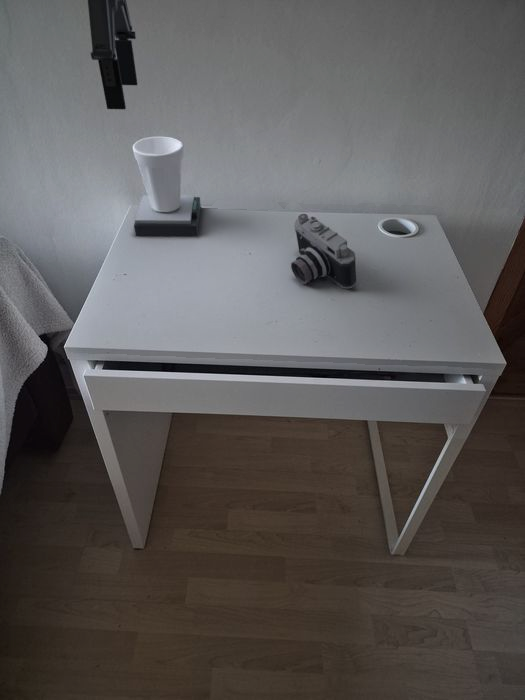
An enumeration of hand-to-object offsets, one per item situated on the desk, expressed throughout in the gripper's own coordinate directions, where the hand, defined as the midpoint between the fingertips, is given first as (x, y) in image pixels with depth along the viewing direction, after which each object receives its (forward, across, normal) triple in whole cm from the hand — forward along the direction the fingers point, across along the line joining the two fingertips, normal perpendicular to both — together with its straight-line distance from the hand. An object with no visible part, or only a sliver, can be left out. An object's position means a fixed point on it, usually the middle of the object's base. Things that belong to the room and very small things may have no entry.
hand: (123, 96), depth 74 cm
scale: (+27, +9, -4) cm, 29 cm away
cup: (+24, +9, -4) cm, 26 cm away
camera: (+28, -12, -33) cm, 45 cm away
